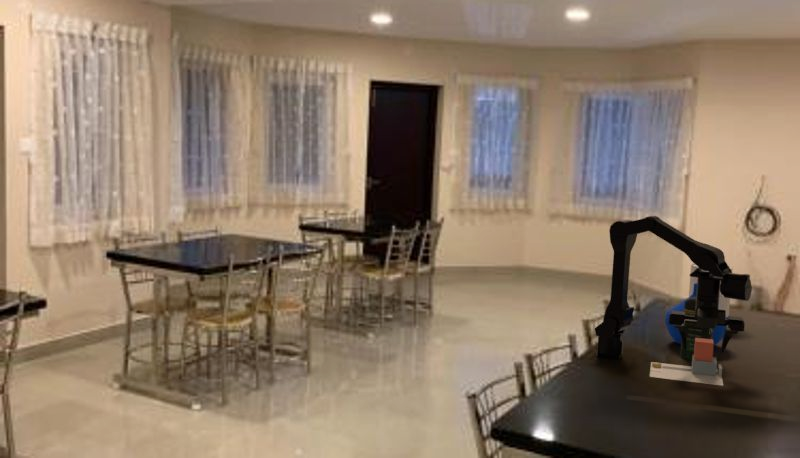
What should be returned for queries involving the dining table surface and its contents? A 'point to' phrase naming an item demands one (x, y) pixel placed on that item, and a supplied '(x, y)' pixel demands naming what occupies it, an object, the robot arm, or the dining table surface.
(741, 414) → the dining table surface
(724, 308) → the canister
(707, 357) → the cap
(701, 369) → the breaker toggle
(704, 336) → the coffee jar
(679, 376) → the panel
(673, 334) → the vase
